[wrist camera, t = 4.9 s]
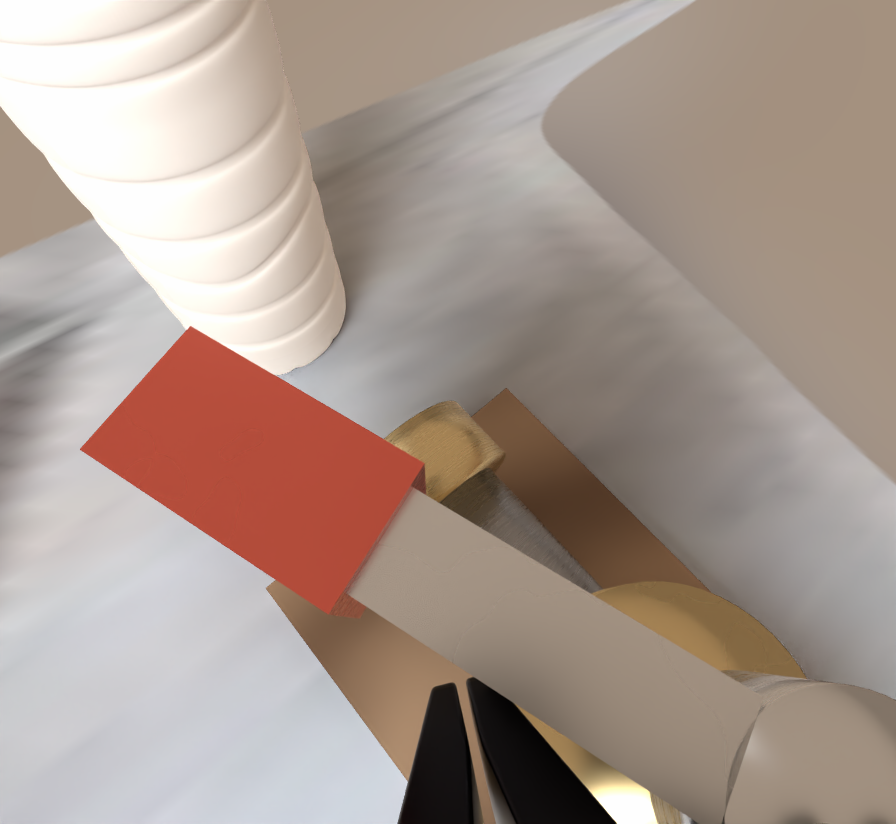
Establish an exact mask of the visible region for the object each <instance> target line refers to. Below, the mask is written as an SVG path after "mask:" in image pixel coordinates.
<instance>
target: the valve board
mask: <svg viewBox="0 0 896 824" xmlns="http://www.w3.org/2000/svg"><path fill="white" fill-rule="evenodd" d="M471 418H472V419H473V420H474V421H475V422H476V423H477V424H478V425H479V426H480V427H481V428H482V429H483V430H484V431H485V432H486V433H487V434H488V435H489V437H490V438H491V439H492V440H493V441H494V442H495V443H496V444H497V445H498V446H499V447H500V448H501V449H502V450H503V451H504V452H505V453H506V457H505V459H504V461H503V463H502V464H501V466H500V467H499V469H498V470H497V471H496V472H495V474H496V475H497V476H498V477H499V478H500V479H501V480H502V481H503V482H504V484H505V485H506V486H507V487H508V488H509V489H510V490H511V491H512V492H513V493H514V494H515V495H516V496H517V497H518V498H519V499H520V501H521V502H522V503H523V504H524V505H525V506H526V507H527V508H528V509H529V510H530V511H531V512H532V513H533V514H534V515H535V517H536V518H537V519H538V520H539V521H540V522H541V523H542V524H543V525H544V526H545V527H546V528H547V529H548V530H549V531H550V532H551V534H552V535H553V536H554V537H555V538H556V539H557V540H558V541H559V542H560V543H561V544H562V545H563V546H564V547H565V548H566V550H567V551H568V552H569V553H570V554H571V555H572V556H573V557H574V558H575V559H576V560H577V561H578V562H579V563H580V564H581V566H582V567H583V568H584V569H585V570H586V571H587V572H588V573H589V574H590V575H591V576H592V577H593V578H594V579H595V580H596V581H597V583H598V584H599V585H600V586H601V587H602V588H603V589H607V588H612V587H616V586H620V585H625V584H631V583H638V582H646V581H664V582H671V583H679V584H684V585H688V586H692V587H696V588H699V589H702V590H705V591H707V592H710V591H709V590H708V589H707V588H706V587H705V586H704V585H703V584H702V583H701V582H700V581H699V580H698V579H697V578H696V577H695V576H694V575H693V574H692V573H691V572H690V571H689V570H688V569H687V568H686V567H685V566H684V565H683V564H682V563H681V562H680V561H679V560H678V559H677V558H676V557H675V556H674V555H673V554H672V553H671V552H670V551H669V550H668V549H667V548H666V547H665V546H664V545H663V544H662V543H661V542H660V541H659V540H658V539H657V538H656V537H655V536H654V535H653V534H652V533H651V532H650V531H649V530H648V529H647V528H646V527H645V526H644V525H643V524H642V523H641V522H640V521H639V520H638V519H637V518H636V517H635V516H634V515H633V514H632V513H631V512H630V511H629V510H628V509H627V508H626V507H625V506H624V505H623V504H622V503H621V502H620V501H619V500H618V499H617V498H616V497H615V496H614V495H613V494H612V493H611V492H610V491H609V490H608V489H607V488H606V487H605V486H604V485H603V484H602V483H601V482H600V481H599V480H598V479H597V478H596V477H595V476H594V475H593V474H592V473H591V472H590V471H589V470H588V469H587V468H586V467H585V466H584V465H583V464H582V463H581V462H580V461H579V460H578V459H577V458H576V457H575V456H574V455H573V454H572V453H571V452H570V451H569V450H568V449H567V448H566V447H565V446H564V445H563V444H562V443H561V442H560V441H559V440H558V439H557V438H556V437H555V436H554V435H553V434H552V433H551V432H550V431H549V430H548V429H547V428H546V427H545V426H544V425H543V424H542V423H541V422H540V421H539V420H538V419H537V418H536V417H535V416H534V415H533V414H532V413H531V412H530V411H529V410H528V409H527V408H526V407H525V406H524V405H523V404H522V403H521V402H520V401H519V400H518V399H517V398H516V397H515V396H514V395H513V394H512V393H511V392H510V391H509V390H508V389H507V388H506V389H504V390H503V391H502V392H501V393H500V394H498V395H497V396H496V397H495V398H494V399H492V400H491V401H490V402H489V403H488V404H486V405H485V406H484V407H483V408H482V409H480V410H479V411H478V412H477V413H476V414H474V415H473V416H472V417H471ZM266 589H267V591H268V592H269V593H270V595H271V596H272V597H273V599H274V600H275V602H276V603H277V604H278V606H279V607H280V608H281V610H282V611H283V612H284V614H285V615H286V617H287V618H288V619H289V621H290V622H291V623H292V625H293V626H294V627H295V629H296V630H297V631H298V633H299V634H300V636H301V637H302V638H303V640H304V641H305V642H306V644H307V645H308V646H309V648H310V649H311V651H312V652H313V653H314V655H315V656H316V657H317V659H318V660H319V661H320V663H321V664H322V665H323V667H324V668H325V670H326V671H327V672H328V674H329V675H330V676H331V678H332V679H333V680H334V682H335V683H336V684H337V686H338V687H339V689H340V690H341V691H342V693H343V694H344V695H345V697H346V698H347V699H348V701H349V702H350V704H351V705H352V706H353V708H354V709H355V710H356V712H357V713H358V714H359V716H360V717H361V718H362V720H363V721H364V723H365V724H366V725H367V727H368V728H369V729H370V731H371V732H372V733H373V735H374V736H375V738H376V739H377V740H378V742H379V743H380V744H381V746H382V747H383V748H384V750H385V751H386V752H387V754H388V755H389V757H390V758H391V759H392V761H393V762H394V763H395V765H396V766H397V767H398V769H399V770H400V771H401V773H402V774H403V776H404V777H405V778H406V780H407V781H408V780H409V776H410V772H411V768H412V764H413V760H414V756H415V752H416V748H417V744H418V740H419V736H420V732H421V728H422V724H423V720H424V716H425V712H426V708H427V704H428V700H429V696H430V692H431V690H432V688H433V687H435V686H439V685H443V684H447V683H451V682H453V683H455V684H456V687H457V691H458V696H459V700H460V705H461V709H462V714H463V718H464V723H465V727H466V732H467V736H468V741H469V747H470V752H471V757H472V762H473V767H474V772H475V778H476V783H477V788H478V793H479V798H480V804H481V809H482V814H483V820H484V824H496V821H495V817H494V813H493V809H492V805H491V801H490V796H489V792H488V787H487V783H486V778H485V774H484V769H483V765H482V760H481V756H480V751H479V747H478V742H477V738H476V733H475V729H474V724H473V719H472V714H471V709H470V704H469V698H468V693H467V687H466V680H467V679H468V678H471V677H473V676H472V675H470V674H469V673H467V672H466V671H464V670H463V669H461V668H460V667H458V666H457V665H455V664H454V663H452V662H450V661H449V660H447V659H446V658H444V657H443V656H441V655H440V654H438V653H437V652H435V651H434V650H432V649H431V648H429V647H427V646H426V645H424V644H423V643H421V642H420V641H418V640H417V639H415V638H414V637H412V636H411V635H409V634H408V633H406V632H404V631H403V630H401V629H400V628H398V627H397V626H395V625H394V624H392V623H391V622H389V621H388V620H386V619H385V618H383V617H382V616H380V615H378V614H377V613H375V612H374V611H372V610H371V609H369V608H368V607H367V608H366V609H365V611H364V612H363V614H362V616H361V617H360V619H359V618H351V617H343V616H335V615H328V614H327V613H325V612H324V611H322V610H321V609H319V608H318V607H316V606H315V605H313V604H312V603H310V602H309V601H307V600H306V599H304V598H302V597H301V596H299V595H298V594H296V593H295V592H293V591H292V590H290V589H289V588H287V587H286V586H284V585H283V584H281V583H280V582H278V581H277V580H275V581H274V582H273V583H271V584H270V585H269V586H268V587H267V588H266ZM710 593H711V592H710Z"/></svg>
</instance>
